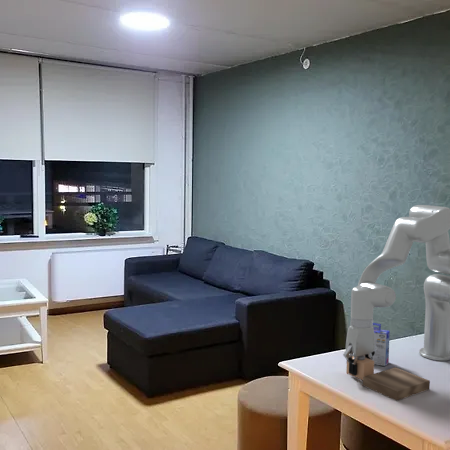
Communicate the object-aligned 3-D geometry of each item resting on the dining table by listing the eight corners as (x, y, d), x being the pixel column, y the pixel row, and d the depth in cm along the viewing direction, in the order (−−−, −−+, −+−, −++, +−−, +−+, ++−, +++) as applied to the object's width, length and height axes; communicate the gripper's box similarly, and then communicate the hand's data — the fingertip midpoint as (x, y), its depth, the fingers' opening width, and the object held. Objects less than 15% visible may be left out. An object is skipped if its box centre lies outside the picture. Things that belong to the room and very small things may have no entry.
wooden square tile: (395, 375, 191) (395, 367, 190) (429, 389, 179) (429, 380, 179) (362, 385, 182) (363, 376, 182) (396, 400, 170) (397, 391, 170)
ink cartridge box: (389, 362, 204) (390, 324, 202) (386, 366, 199) (387, 328, 197) (362, 357, 208) (364, 320, 207) (359, 362, 204) (360, 324, 202)
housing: (356, 370, 196) (357, 351, 195) (373, 377, 189) (374, 358, 188) (346, 373, 193) (347, 354, 192) (363, 380, 186) (364, 360, 186)
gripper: (370, 316, 197) (368, 364, 199) (335, 323, 187) (334, 373, 189) (387, 321, 191) (385, 370, 193) (351, 329, 181) (350, 381, 183)
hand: (359, 371), depth 191 cm, fingers open, 6 cm apart
